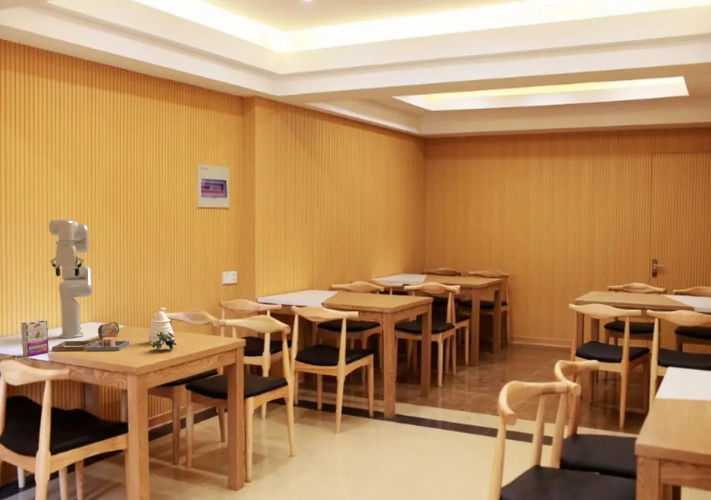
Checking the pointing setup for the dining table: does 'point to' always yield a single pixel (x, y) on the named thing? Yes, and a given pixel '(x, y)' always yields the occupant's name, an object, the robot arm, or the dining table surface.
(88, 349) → the grey frame
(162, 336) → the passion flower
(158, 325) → the honey pot
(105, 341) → the letter cube
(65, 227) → the robot arm
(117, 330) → the tin
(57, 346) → the walnut frame
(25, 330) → the candy bar box
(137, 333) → the dining table surface
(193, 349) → the dining table surface
